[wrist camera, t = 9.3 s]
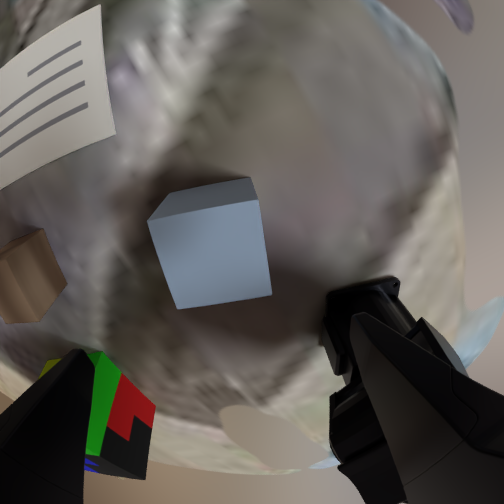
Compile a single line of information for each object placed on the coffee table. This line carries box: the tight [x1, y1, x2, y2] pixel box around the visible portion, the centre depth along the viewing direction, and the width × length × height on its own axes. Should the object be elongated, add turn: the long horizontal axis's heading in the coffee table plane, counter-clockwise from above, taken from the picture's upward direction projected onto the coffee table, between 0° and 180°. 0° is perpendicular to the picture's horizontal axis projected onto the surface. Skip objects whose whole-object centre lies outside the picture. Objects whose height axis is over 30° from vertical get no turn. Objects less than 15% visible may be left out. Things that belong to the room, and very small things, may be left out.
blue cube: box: [147, 177, 272, 309], centre depth 15 cm, size 5×5×5 cm
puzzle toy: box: [38, 351, 156, 480], centre depth 20 cm, size 10×10×10 cm
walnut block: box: [0, 229, 67, 324], centre depth 15 cm, size 5×5×5 cm
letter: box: [0, 5, 116, 190], centre depth 11 cm, size 14×10×1 cm
